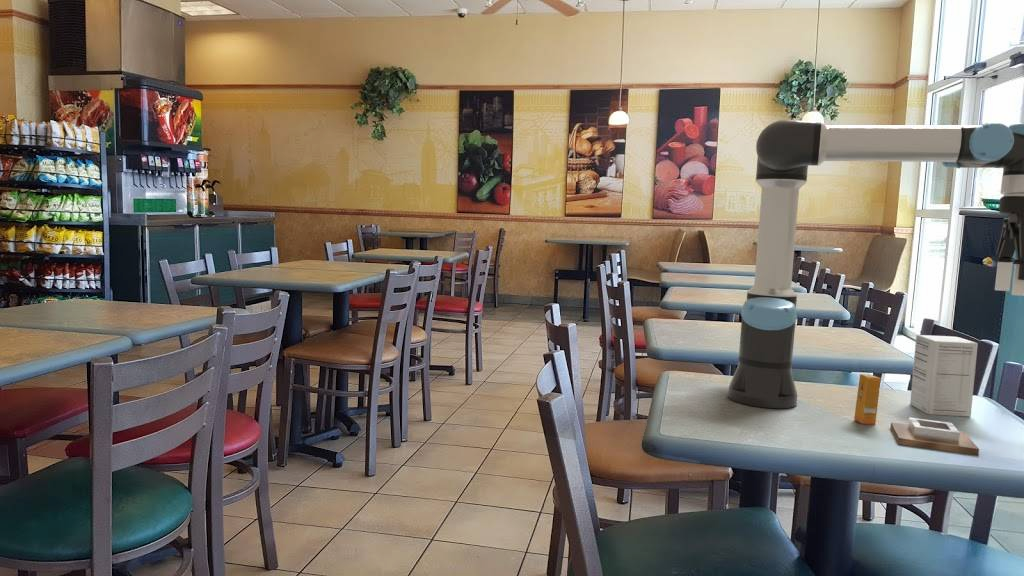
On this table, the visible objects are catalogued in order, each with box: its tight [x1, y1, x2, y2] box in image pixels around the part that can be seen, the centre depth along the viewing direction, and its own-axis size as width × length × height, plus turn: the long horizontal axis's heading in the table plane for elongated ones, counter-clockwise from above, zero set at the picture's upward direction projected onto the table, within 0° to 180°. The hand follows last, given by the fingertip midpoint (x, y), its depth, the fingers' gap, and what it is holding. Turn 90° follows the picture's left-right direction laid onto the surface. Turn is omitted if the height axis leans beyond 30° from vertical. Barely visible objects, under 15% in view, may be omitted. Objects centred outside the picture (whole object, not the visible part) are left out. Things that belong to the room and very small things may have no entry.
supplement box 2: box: [909, 334, 979, 417], centre depth 161 cm, size 10×9×17 cm
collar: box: [908, 417, 960, 443], centre depth 137 cm, size 7×7×2 cm
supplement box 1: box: [853, 373, 882, 425], centre depth 148 cm, size 3×3×10 cm
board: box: [890, 421, 980, 456], centre depth 137 cm, size 13×12×1 cm
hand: (1010, 293), depth 155 cm, fingers open, 13 cm apart
